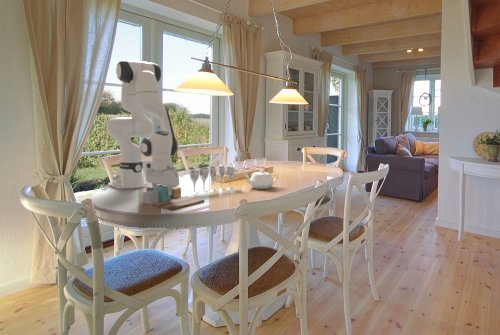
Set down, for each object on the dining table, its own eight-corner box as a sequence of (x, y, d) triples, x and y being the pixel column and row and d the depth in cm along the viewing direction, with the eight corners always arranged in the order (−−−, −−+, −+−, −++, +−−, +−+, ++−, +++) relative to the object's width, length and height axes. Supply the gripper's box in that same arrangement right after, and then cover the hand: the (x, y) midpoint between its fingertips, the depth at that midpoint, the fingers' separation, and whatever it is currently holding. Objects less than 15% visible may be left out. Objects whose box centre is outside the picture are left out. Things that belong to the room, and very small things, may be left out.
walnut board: (154, 205, 157) (154, 203, 157) (186, 198, 173) (186, 196, 173) (172, 210, 150) (172, 208, 150) (204, 201, 166) (204, 199, 166)
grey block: (143, 203, 162) (142, 192, 161) (151, 201, 166) (151, 190, 165) (150, 204, 159) (149, 194, 158) (158, 202, 163) (158, 192, 162)
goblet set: (193, 194, 181) (192, 169, 179) (187, 192, 185) (187, 168, 183) (237, 188, 198) (237, 165, 196) (231, 187, 202) (231, 164, 200)
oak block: (166, 198, 173) (166, 188, 172) (172, 196, 177) (172, 186, 176) (174, 199, 171) (174, 189, 170) (180, 197, 175) (180, 187, 174)
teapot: (272, 184, 213) (272, 167, 211) (282, 188, 200) (283, 170, 198) (238, 186, 204) (238, 168, 203) (247, 191, 192) (247, 172, 190)
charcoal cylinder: (144, 197, 173) (144, 187, 172) (151, 195, 176) (151, 186, 175) (150, 198, 171) (149, 188, 170) (156, 197, 174) (156, 187, 173)
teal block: (155, 200, 168) (154, 185, 167) (163, 198, 172) (163, 184, 171) (162, 201, 165) (161, 187, 164) (170, 199, 169) (170, 185, 168)
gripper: (182, 166, 162) (182, 195, 164) (153, 162, 174) (154, 189, 176) (171, 168, 157) (172, 198, 159) (143, 163, 169) (144, 191, 171)
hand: (162, 193), depth 168 cm, fingers open, 8 cm apart
